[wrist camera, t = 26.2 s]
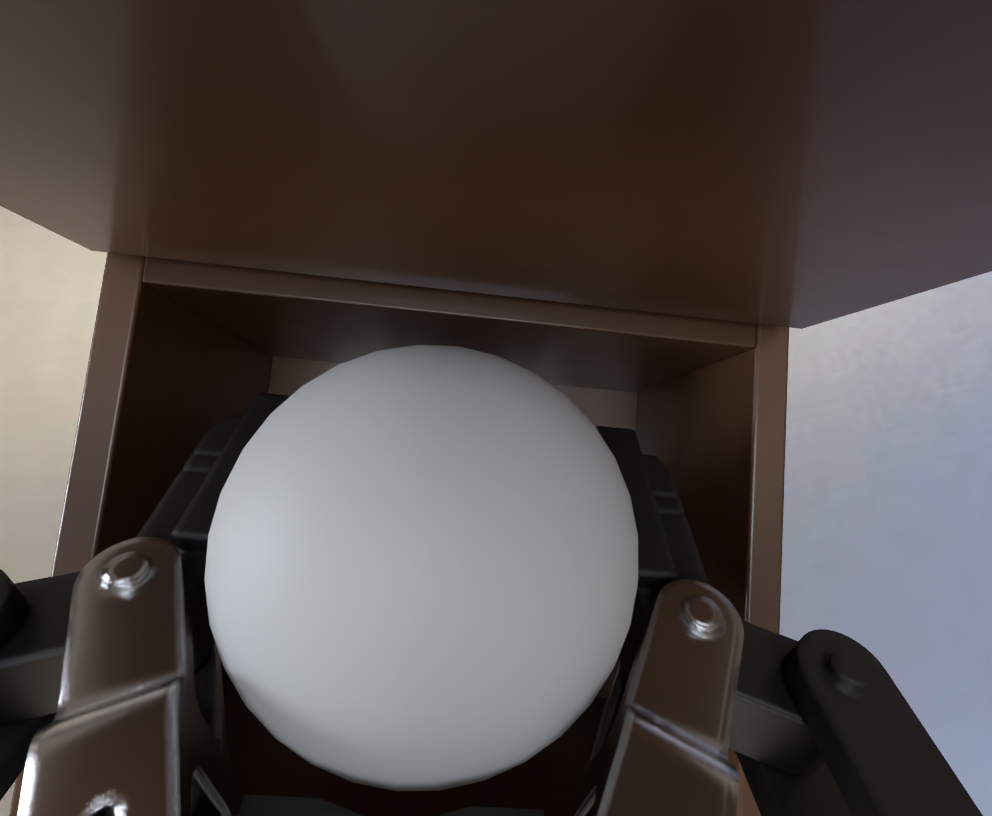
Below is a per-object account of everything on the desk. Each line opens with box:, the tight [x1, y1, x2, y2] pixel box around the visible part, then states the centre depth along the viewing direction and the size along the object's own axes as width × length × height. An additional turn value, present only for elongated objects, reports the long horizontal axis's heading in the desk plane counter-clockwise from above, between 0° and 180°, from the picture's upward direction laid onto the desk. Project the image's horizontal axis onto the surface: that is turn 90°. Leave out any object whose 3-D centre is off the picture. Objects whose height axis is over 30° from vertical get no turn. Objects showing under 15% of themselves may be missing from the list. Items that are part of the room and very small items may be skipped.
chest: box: [9, 252, 789, 816], centre depth 15 cm, size 13×15×9 cm
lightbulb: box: [204, 345, 638, 791], centre depth 10 cm, size 6×6×11 cm
